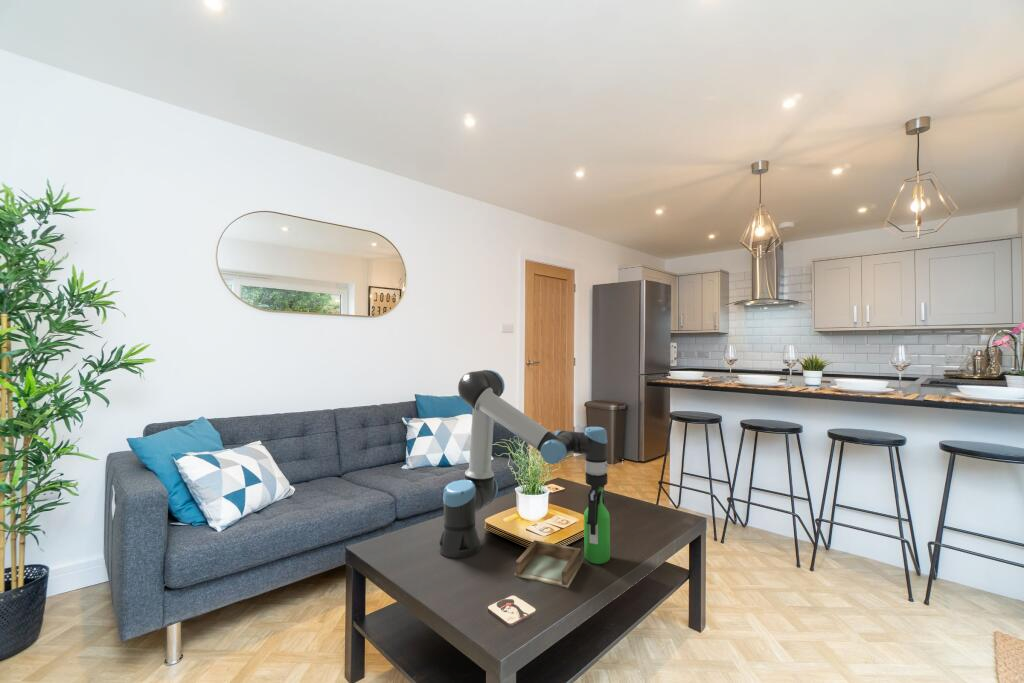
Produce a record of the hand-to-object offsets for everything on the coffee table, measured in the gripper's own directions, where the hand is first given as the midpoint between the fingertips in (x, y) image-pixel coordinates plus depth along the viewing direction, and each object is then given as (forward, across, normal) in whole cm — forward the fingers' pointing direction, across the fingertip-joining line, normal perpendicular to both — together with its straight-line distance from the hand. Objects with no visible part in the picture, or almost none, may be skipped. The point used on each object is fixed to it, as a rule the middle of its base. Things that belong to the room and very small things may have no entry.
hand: (597, 537), depth 153 cm
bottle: (+8, 0, 0) cm, 8 cm away
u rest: (+7, -13, +13) cm, 20 cm away
